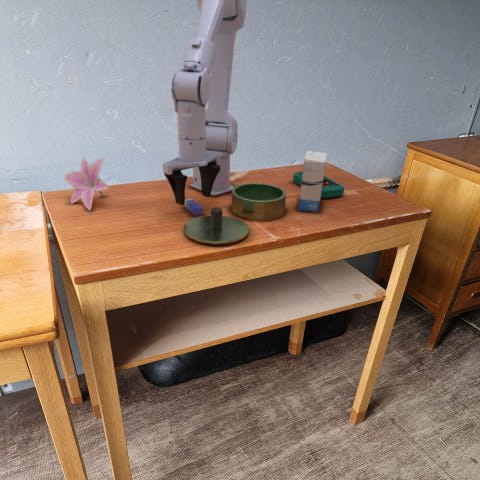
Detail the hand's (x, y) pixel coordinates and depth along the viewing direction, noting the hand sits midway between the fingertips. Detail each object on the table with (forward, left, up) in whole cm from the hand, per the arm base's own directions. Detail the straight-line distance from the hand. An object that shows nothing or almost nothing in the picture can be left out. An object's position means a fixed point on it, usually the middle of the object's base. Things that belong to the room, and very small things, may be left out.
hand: (193, 199), depth 100 cm
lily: (-20, -15, -3) cm, 25 cm away
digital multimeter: (+9, +35, -3) cm, 36 cm away
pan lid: (+12, -4, -2) cm, 13 cm away
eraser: (0, 0, -3) cm, 3 cm away
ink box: (+15, +24, -3) cm, 29 cm away
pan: (+9, +12, -3) cm, 15 cm away
